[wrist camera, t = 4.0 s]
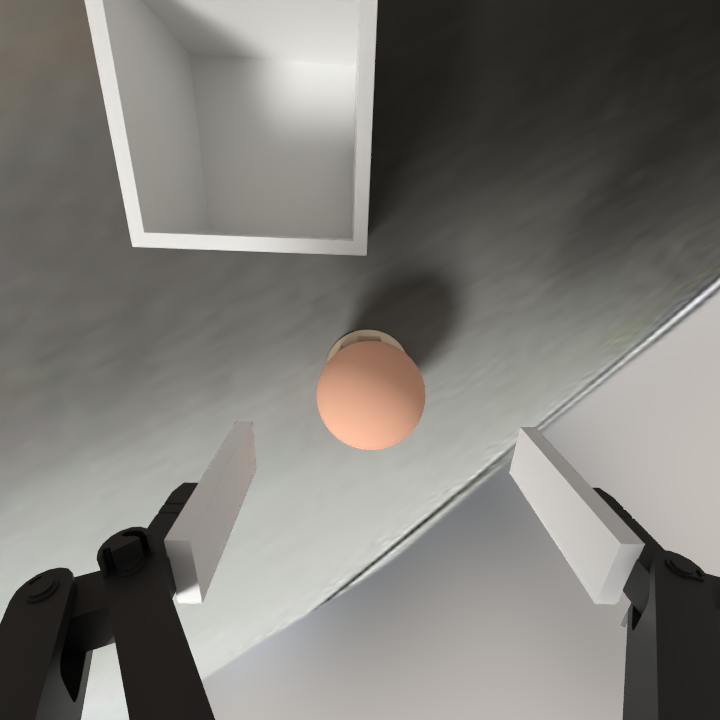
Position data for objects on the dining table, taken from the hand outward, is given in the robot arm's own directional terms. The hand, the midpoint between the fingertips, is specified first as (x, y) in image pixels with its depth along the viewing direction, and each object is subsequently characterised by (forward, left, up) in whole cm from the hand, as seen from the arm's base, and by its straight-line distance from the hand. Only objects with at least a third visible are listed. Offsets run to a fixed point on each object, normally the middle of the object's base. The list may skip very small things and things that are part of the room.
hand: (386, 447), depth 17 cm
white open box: (+14, +6, -10) cm, 18 cm away
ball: (0, 0, -6) cm, 6 cm away
